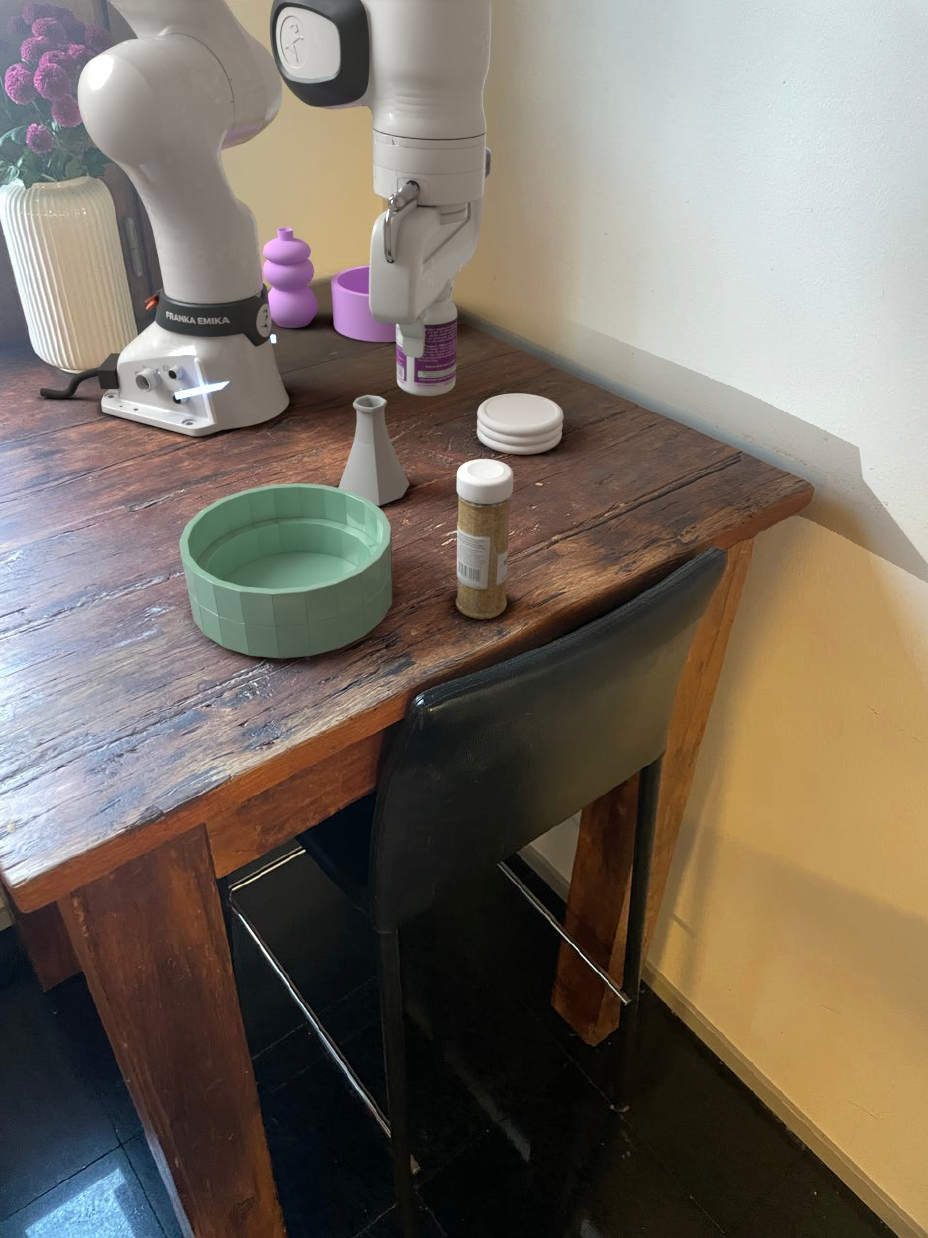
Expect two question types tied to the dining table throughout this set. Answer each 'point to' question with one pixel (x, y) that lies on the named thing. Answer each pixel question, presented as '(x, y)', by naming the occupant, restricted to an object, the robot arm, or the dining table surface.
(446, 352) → the pill bottle
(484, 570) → the sprinkles bottle
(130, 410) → the robot arm
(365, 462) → the flask
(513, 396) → the white round disc stack
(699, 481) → the dining table surface
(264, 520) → the mint green bowl
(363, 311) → the container set
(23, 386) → the dining table surface
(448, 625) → the dining table surface
